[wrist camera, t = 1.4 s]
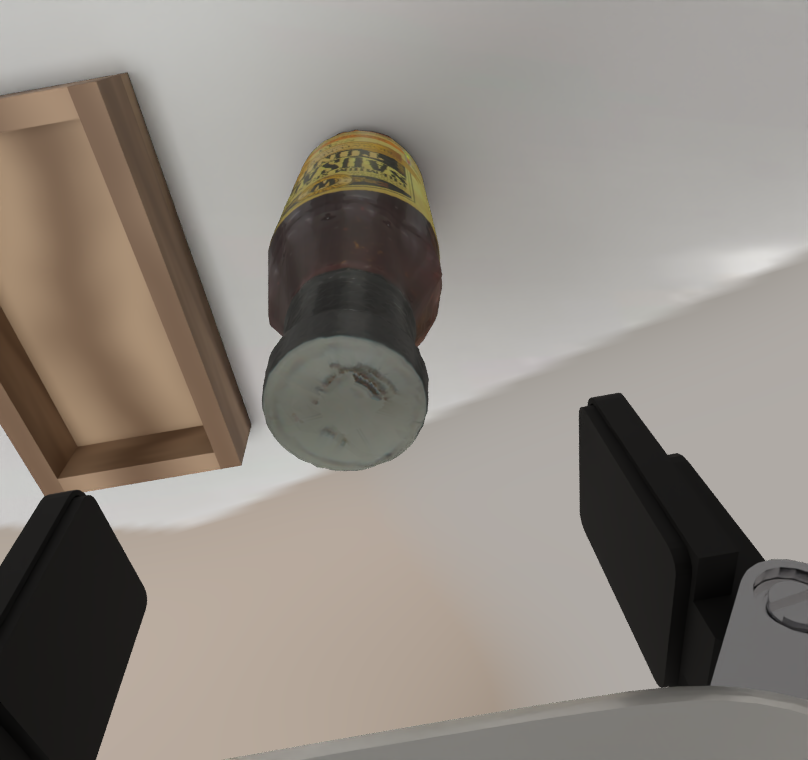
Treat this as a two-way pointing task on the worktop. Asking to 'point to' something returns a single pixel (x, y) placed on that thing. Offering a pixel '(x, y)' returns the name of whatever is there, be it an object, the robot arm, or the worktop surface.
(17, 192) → the bottle tray
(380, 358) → the sauce bottle
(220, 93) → the worktop surface
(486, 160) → the worktop surface
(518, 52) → the worktop surface
